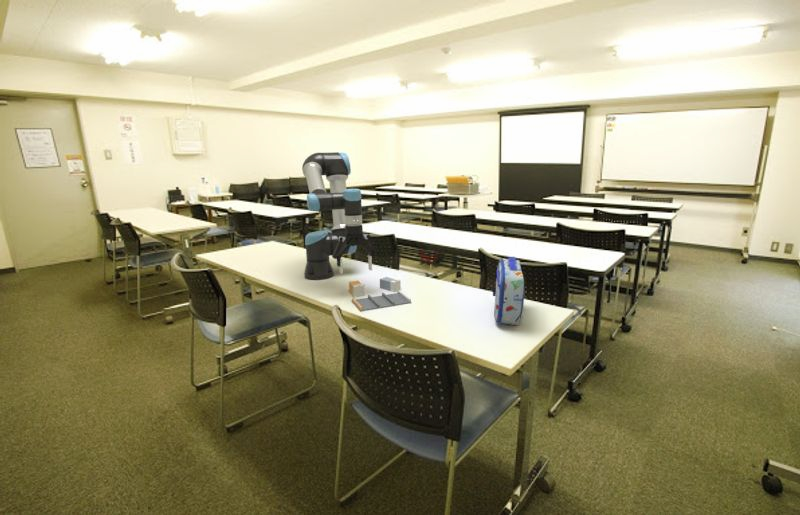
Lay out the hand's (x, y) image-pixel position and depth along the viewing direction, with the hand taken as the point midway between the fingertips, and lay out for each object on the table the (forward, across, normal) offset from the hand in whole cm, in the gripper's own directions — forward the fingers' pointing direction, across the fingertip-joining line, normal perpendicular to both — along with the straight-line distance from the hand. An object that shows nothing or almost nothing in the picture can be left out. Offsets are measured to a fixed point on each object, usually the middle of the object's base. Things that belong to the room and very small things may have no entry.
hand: (356, 271), depth 174 cm
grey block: (+10, +16, 0) cm, 19 cm away
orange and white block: (+10, 0, 0) cm, 10 cm away
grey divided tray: (+11, +6, -15) cm, 19 cm away
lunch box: (+11, +45, -49) cm, 68 cm away
